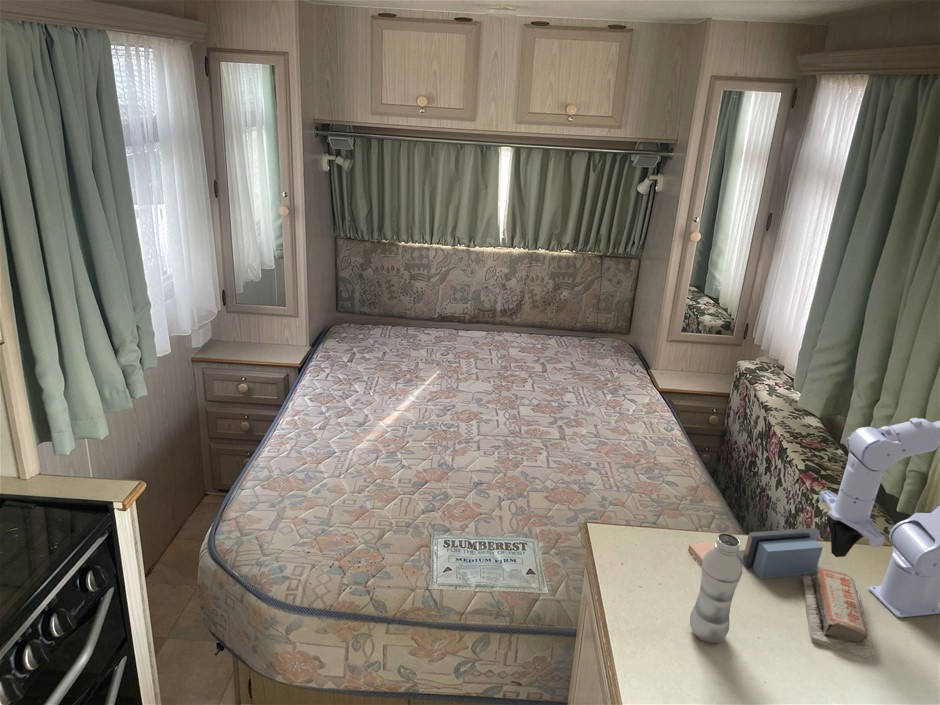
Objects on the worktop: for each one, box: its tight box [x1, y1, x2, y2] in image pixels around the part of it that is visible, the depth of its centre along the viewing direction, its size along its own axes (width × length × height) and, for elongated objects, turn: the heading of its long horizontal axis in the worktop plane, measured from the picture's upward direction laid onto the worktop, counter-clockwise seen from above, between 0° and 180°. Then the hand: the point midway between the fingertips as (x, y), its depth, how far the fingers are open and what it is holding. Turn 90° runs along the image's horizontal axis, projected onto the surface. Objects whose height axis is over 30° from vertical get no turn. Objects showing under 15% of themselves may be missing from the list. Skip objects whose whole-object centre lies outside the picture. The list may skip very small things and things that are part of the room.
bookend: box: [737, 527, 821, 568], centre depth 140 cm, size 15×4×8 cm, turn 101°
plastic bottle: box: [689, 532, 743, 644], centre depth 117 cm, size 6×7×20 cm
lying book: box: [688, 540, 716, 567], centre depth 141 cm, size 8×5×2 cm, turn 104°
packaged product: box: [802, 567, 875, 660], centre depth 126 cm, size 18×5×10 cm
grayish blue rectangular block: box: [752, 538, 824, 579], centre depth 137 cm, size 12×3×6 cm, turn 101°
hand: (838, 554), depth 128 cm, fingers closed
